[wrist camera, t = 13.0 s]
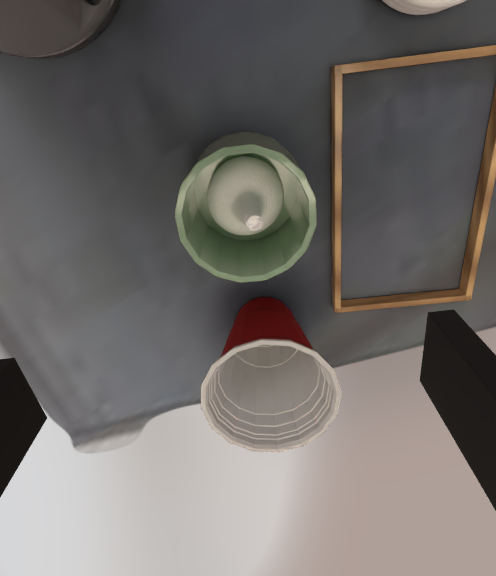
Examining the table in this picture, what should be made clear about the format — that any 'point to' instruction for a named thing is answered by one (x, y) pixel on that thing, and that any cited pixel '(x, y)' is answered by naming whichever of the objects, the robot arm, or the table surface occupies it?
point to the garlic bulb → (245, 195)
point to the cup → (257, 247)
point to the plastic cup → (269, 382)
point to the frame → (491, 167)
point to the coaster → (421, 5)
